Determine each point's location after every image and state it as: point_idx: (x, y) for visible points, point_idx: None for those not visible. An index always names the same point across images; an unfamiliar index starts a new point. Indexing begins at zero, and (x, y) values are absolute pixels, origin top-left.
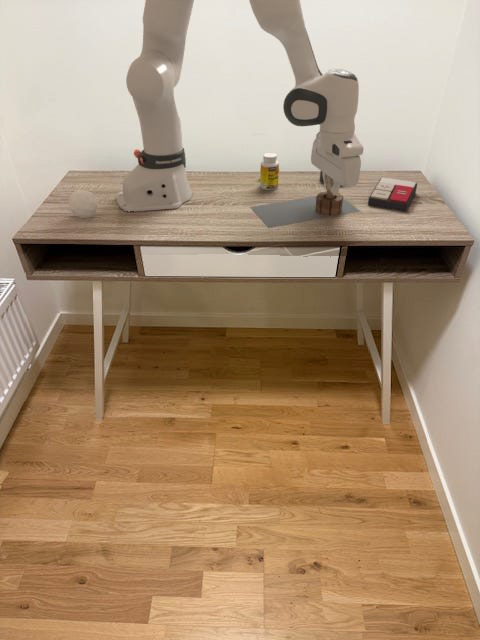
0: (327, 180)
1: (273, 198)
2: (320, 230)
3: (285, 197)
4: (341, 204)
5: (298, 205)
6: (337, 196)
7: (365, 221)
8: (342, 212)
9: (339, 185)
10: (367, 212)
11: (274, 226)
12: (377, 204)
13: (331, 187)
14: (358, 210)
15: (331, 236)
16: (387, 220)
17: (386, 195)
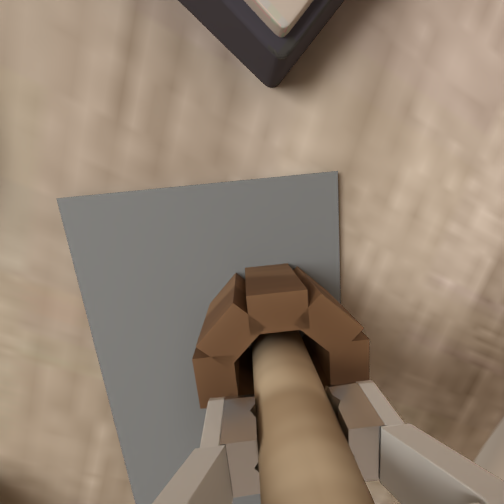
0: (219, 496)
1: (76, 493)
2: (424, 408)
3: (72, 448)
4: (327, 294)
5: (187, 432)
6: (299, 328)
7: (432, 194)
8: (319, 271)
9: (460, 470)
10: (345, 132)
11: None
12: (319, 25)
13: (366, 480)
14: (326, 179)
15: (486, 387)
16: (472, 68)
17: None
